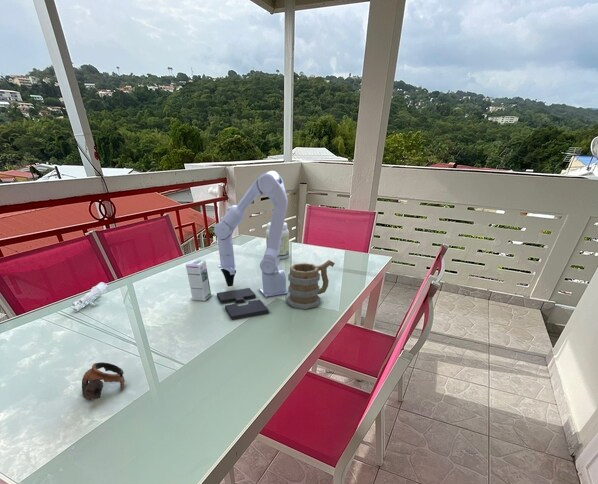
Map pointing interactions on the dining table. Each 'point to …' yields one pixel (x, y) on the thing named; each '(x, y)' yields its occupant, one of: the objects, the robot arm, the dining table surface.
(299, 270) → the tankard
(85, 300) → the toy cannon
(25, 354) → the dining table surface
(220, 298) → the black pad
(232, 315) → the charcoal pad
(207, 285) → the syrup box
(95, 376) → the brown looped strap
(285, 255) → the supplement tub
